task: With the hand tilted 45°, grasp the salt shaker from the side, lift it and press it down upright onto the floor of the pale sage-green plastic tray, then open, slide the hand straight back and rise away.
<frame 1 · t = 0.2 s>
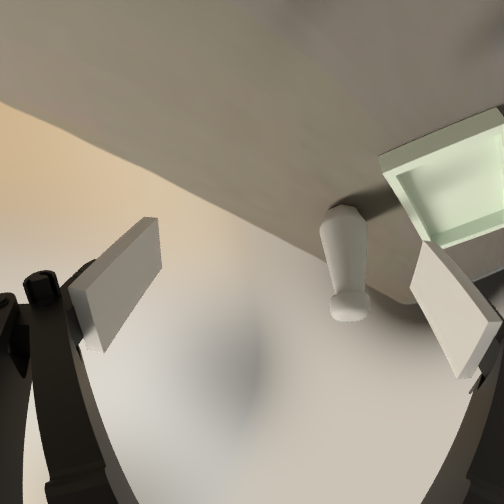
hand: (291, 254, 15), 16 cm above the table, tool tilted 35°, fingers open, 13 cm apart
salt shaker: (342, 213, 37), on the table
tray: (458, 184, 29), on the table
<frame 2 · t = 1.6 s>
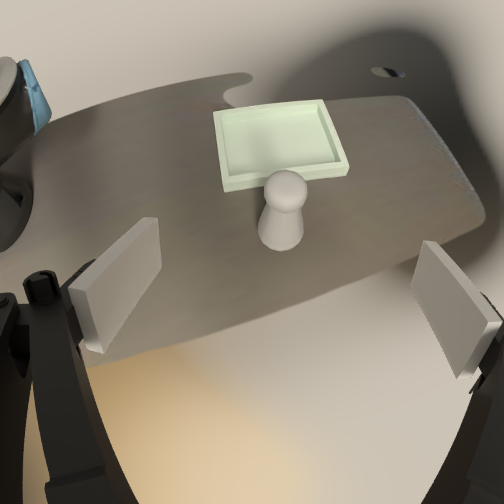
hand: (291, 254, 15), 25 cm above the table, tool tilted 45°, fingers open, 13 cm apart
salt shaker: (279, 236, 42), on the table
tray: (277, 145, 46), on the table
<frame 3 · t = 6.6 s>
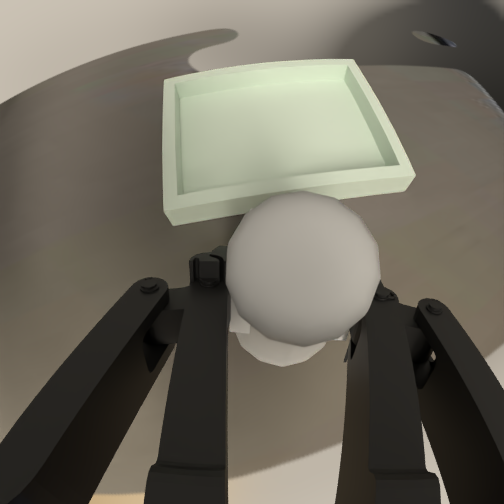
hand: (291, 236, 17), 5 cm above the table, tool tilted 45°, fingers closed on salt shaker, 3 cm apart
salt shaker: (281, 320, 20), on the table, touching gripper
tray: (277, 132, 25), on the table
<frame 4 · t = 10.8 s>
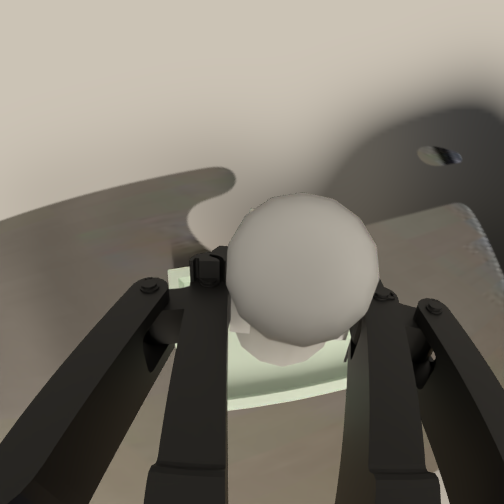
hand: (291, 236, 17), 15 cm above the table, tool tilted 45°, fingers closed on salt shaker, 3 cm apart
salt shaker: (281, 320, 20), point 11 cm above the table, touching gripper
tray: (271, 329, 30), on the table
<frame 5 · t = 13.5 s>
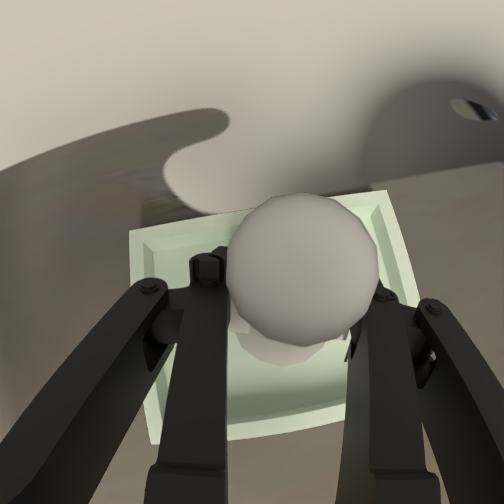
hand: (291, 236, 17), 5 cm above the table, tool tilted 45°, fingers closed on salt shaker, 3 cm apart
salt shaker: (280, 320, 20), resting on tray, touching gripper
tray: (279, 319, 20), on the table
when the fingers open (5 cm above the table, at t = 15.0 s): salt shaker stays where it is, resting on tray.
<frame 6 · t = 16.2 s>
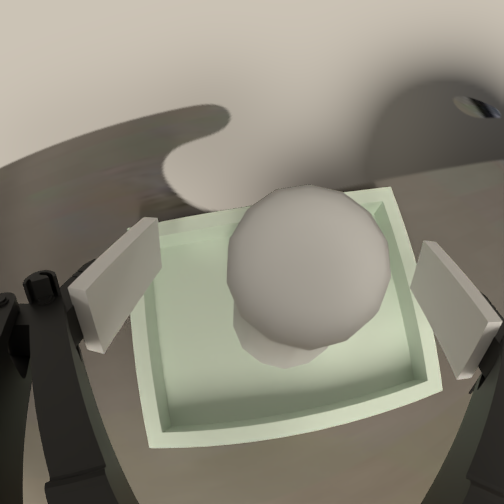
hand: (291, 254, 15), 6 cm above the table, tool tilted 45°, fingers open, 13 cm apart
salt shaker: (283, 320, 19), resting on tray
tray: (281, 319, 20), on the table
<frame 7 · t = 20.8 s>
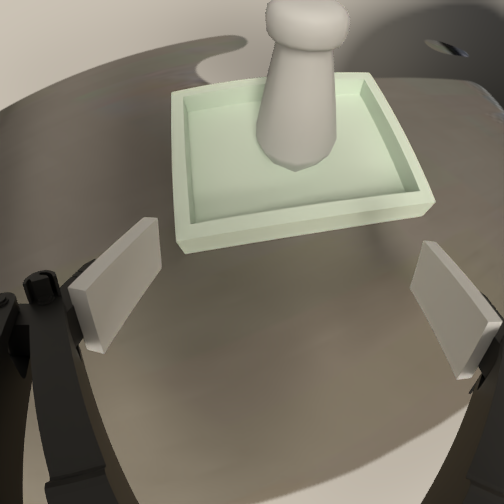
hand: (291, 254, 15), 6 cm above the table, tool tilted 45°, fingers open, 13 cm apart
salt shaker: (293, 152, 24), resting on tray
tray: (292, 152, 24), on the table
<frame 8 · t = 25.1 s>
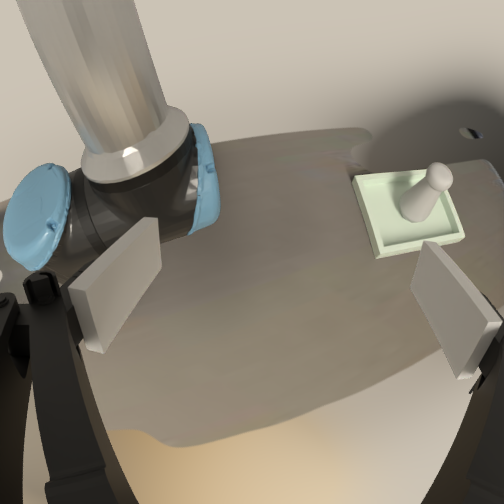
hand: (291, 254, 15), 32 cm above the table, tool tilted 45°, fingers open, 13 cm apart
salt shaker: (409, 212, 49), resting on tray
tray: (408, 212, 50), on the table
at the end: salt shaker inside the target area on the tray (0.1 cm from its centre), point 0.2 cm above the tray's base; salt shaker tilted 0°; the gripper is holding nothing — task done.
